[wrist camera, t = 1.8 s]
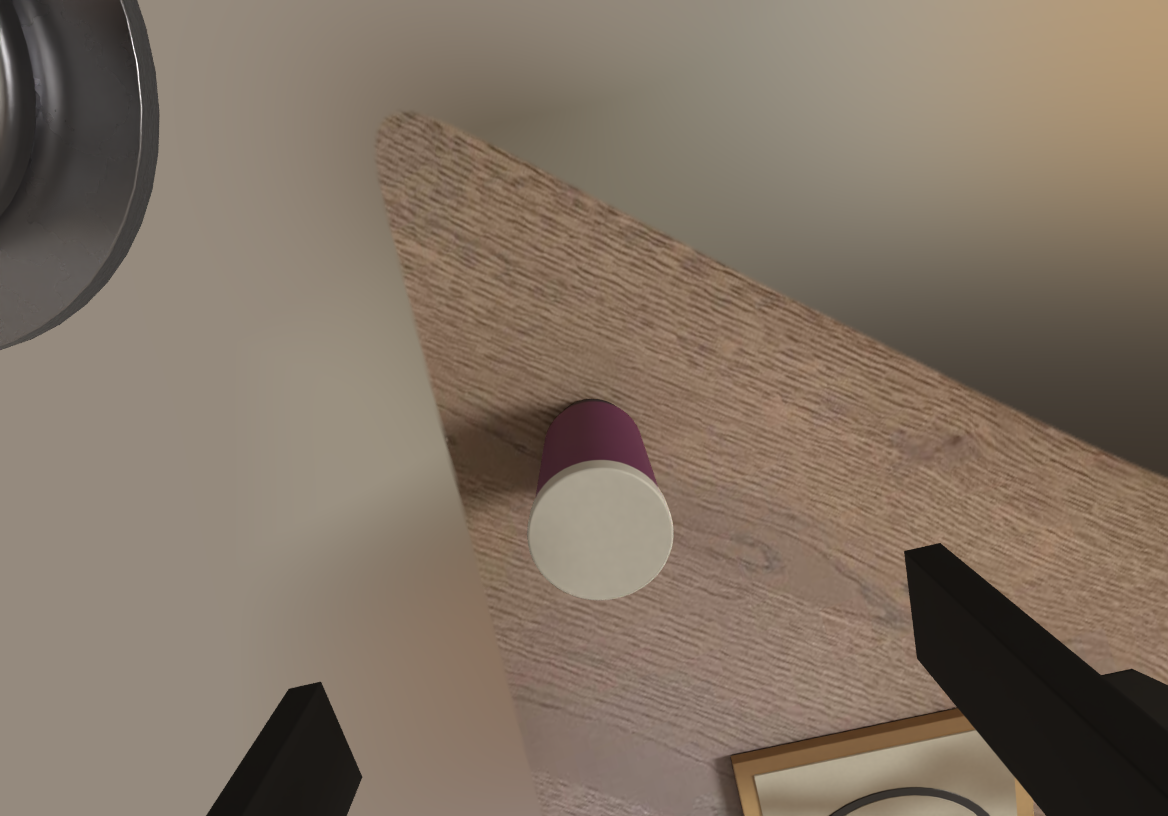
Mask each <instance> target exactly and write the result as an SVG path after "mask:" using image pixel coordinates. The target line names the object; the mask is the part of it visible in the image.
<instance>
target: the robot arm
mask: <svg viewBox="0 0 1168 816" xmlns="http://www.w3.org/2000/svg"><path fill="white" fill-rule="evenodd" d="M35 114H36V107H35V87H34V79H33V72H32V66H31V61H30V56H29V52H28V47H27V43H26V40H25V37H24V34H23V30H22V27H21V24H20V21H19V18H18V16H17V13H16V11H15V8H14V6H13V3H12V1H11V0H0V216H1V215H2V214H3V212H4V211H5V210H6V208H7V207H8V205H9V204H10V203H11V201H12V199H13V197H14V195H15V194H16V192H17V190H18V188H19V186H20V184H21V181H22V179H23V176H24V174H25V171H26V169H27V165H28V161H29V158H30V154H31V150H32V144H33V138H34V131H35ZM904 554H905V562H906V571H907V579H908V587H909V596H910V604H911V612H912V620H913V629H914V637H915V645H916V654H917V659H918V660H919V661H920V663H921V664H922V665H923V666H924V667H925V669H926V670H927V671H928V672H929V674H930V675H931V676H932V677H933V678H934V680H935V681H936V682H937V683H938V684H939V686H940V687H941V688H942V689H943V691H944V692H945V693H946V694H947V695H948V697H949V698H950V699H951V700H952V702H953V703H954V704H955V705H956V706H957V708H958V709H959V710H960V711H961V712H962V714H963V715H964V716H965V717H966V719H967V720H968V721H969V722H970V723H971V725H972V726H973V727H974V728H975V730H976V731H977V732H978V733H979V734H980V736H981V737H982V738H983V739H984V740H985V742H986V743H987V744H988V745H989V747H990V748H991V749H992V750H993V751H994V753H995V754H996V755H997V756H998V758H999V759H1000V760H1001V761H1002V762H1003V764H1004V765H1005V766H1006V767H1007V768H1008V770H1009V771H1010V772H1011V773H1012V775H1013V776H1014V777H1015V778H1016V779H1017V781H1018V782H1019V783H1020V784H1021V786H1022V787H1023V788H1024V789H1025V790H1026V792H1027V793H1028V794H1029V795H1030V796H1031V798H1032V799H1033V800H1034V801H1035V803H1036V804H1037V805H1038V806H1039V807H1040V809H1041V810H1042V811H1043V812H1044V814H1045V815H1046V816H1168V685H1166V684H1164V683H1162V682H1160V681H1157V680H1155V679H1153V678H1151V677H1149V676H1147V675H1144V674H1142V673H1140V672H1138V671H1136V670H1134V669H1129V670H1124V671H1119V672H1115V673H1110V674H1105V675H1100V674H1099V673H1098V672H1096V671H1095V670H1094V669H1093V668H1092V667H1090V666H1089V665H1088V664H1087V663H1086V662H1084V661H1083V660H1082V659H1081V658H1079V657H1078V656H1077V655H1076V654H1075V653H1073V652H1072V651H1071V650H1070V649H1068V648H1067V647H1066V646H1065V645H1064V644H1062V643H1061V642H1060V641H1059V640H1058V639H1056V638H1055V637H1054V636H1053V635H1051V634H1050V633H1049V632H1048V631H1047V630H1045V629H1044V628H1043V627H1042V626H1040V625H1039V624H1038V623H1037V622H1036V621H1034V620H1033V619H1032V618H1031V617H1030V616H1028V615H1027V614H1026V613H1025V612H1023V611H1022V610H1021V609H1020V608H1019V607H1017V606H1016V605H1015V604H1014V603H1012V602H1011V601H1010V600H1009V599H1008V598H1006V597H1005V596H1004V595H1003V594H1002V593H1000V592H999V591H998V590H997V589H995V588H994V587H993V586H992V585H991V584H989V583H988V582H987V581H986V580H984V579H983V578H982V577H981V576H980V575H978V574H977V573H976V572H975V571H974V570H972V569H971V568H970V567H969V566H967V565H966V564H965V563H964V562H963V561H961V560H960V559H959V558H958V557H956V556H955V555H954V554H953V553H952V552H950V551H949V550H948V549H947V548H946V547H944V546H943V545H942V544H941V543H938V544H934V545H929V546H925V547H920V548H916V549H912V550H907V551H904ZM361 779H362V775H361V773H360V771H359V768H358V766H357V764H356V761H355V759H354V757H353V754H352V752H351V750H350V748H349V745H348V743H347V741H346V738H345V736H344V734H343V731H342V729H341V727H340V724H339V722H338V720H337V718H336V715H335V713H334V711H333V708H332V706H331V704H330V701H329V699H328V697H327V695H326V692H325V690H324V688H323V685H322V683H321V682H317V683H313V684H308V685H304V686H299V687H295V688H291V689H288V691H287V692H286V694H285V696H284V697H283V699H282V700H281V702H280V703H279V705H278V706H277V708H276V709H275V711H274V712H273V714H272V715H271V717H270V719H269V720H268V722H267V723H266V725H265V726H264V728H263V729H262V731H261V732H260V734H259V736H258V737H257V739H256V740H255V742H254V743H253V745H252V746H251V748H250V749H249V751H248V752H247V754H246V755H245V757H244V758H243V760H242V761H241V763H240V765H239V766H238V768H237V769H236V771H235V772H234V774H233V775H232V777H231V778H230V780H229V781H228V783H227V785H226V786H225V788H224V789H223V791H222V792H221V794H220V795H219V797H218V799H217V800H216V802H215V803H214V804H213V806H212V808H211V809H210V811H209V812H208V814H207V815H206V816H347V814H348V811H349V809H350V806H351V804H352V801H353V799H354V796H355V794H356V791H357V789H358V786H359V784H360V781H361Z"/></svg>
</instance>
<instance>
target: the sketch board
mask: <svg viewBox="0 0 1168 816" xmlns="http://www.w3.org/2000/svg"><path fill="white" fill-rule="evenodd" d="M731 762H732V766H733V771H734V775H735V779H736V784H737V788H738V793H739V797H740V801H741V806H742V810H743V815H744V816H1034V810H1033V799H1032V798H1031V796H1030V795H1029V794H1028V793H1027V792H1026V790H1025V789H1024V788H1023V787H1022V786H1021V784H1020V783H1019V782H1018V781H1017V779H1016V778H1015V777H1014V776H1013V775H1012V773H1011V772H1010V771H1009V770H1008V768H1007V767H1006V766H1005V765H1004V764H1003V762H1002V761H1001V760H1000V759H999V758H998V756H997V755H996V754H995V753H994V751H993V750H992V749H991V748H990V747H989V745H988V744H987V743H986V742H985V740H984V739H983V738H982V737H981V736H980V734H979V733H978V732H977V731H976V730H975V728H974V727H973V726H972V725H971V723H970V722H969V721H968V720H967V719H966V717H965V716H964V715H963V714H962V712H961V711H960V710H959V709H958V708H957V709H952V710H947V711H943V712H938V713H933V714H928V715H923V716H919V717H914V718H909V719H904V720H900V721H895V722H890V723H885V724H880V725H876V726H871V727H866V728H861V729H857V730H852V731H847V732H842V733H838V734H833V735H828V736H823V737H818V738H814V739H809V740H804V741H799V742H795V743H790V744H785V745H780V746H775V747H771V748H766V749H761V750H756V751H752V752H747V753H742V754H737V755H733V756H731Z"/></svg>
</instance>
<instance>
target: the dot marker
mask: <svg viewBox="0 0 1168 816" xmlns="http://www.w3.org/2000/svg"><path fill="white" fill-rule="evenodd" d="M527 539H528V546H529V551H530V554H531V556H532V559H533V561H534V563H535V565H536V567H537V568H538V570H539V571H540V572H541V574H542V575H543V576H544V577H545V578H546V579H547V580H548V581H549V582H550V583H551V584H553V585H554V586H555V587H557V588H558V589H560V590H562V591H563V592H565V593H567V594H570V595H572V596H575V597H578V598H582V599H588V600H611V599H617V598H620V597H624V596H627V595H629V594H632V593H634V592H636V591H638V590H639V589H641V588H643V587H644V586H645V585H647V584H648V583H649V582H650V581H652V580H653V579H654V578H655V577H656V576H657V574H658V573H659V572H660V571H661V569H662V568H663V566H664V564H665V563H666V561H667V559H668V557H669V554H670V551H671V548H672V543H673V522H672V517H671V514H670V511H669V508H668V505H667V502H666V500H665V498H664V496H663V494H662V493H661V491H660V489H659V488H658V485H657V482H656V479H655V476H654V473H653V470H652V467H651V464H650V461H649V458H648V455H647V452H646V450H645V447H644V444H643V441H642V438H641V435H640V432H639V429H638V427H637V425H636V424H635V422H634V421H633V420H632V418H631V417H630V416H629V415H628V414H627V413H625V412H624V411H623V410H621V409H620V408H618V407H616V406H615V405H613V404H611V403H609V402H607V401H604V400H599V399H586V400H582V401H578V402H576V403H574V404H572V405H570V406H569V407H567V408H566V409H565V410H564V411H563V412H562V413H561V414H559V415H558V416H557V417H556V418H555V420H554V421H553V422H552V424H551V425H550V427H549V429H548V431H547V434H546V437H545V442H544V448H543V454H542V461H541V467H540V473H539V479H538V485H537V492H536V498H535V500H534V502H533V505H532V508H531V511H530V516H529V522H528V530H527Z"/></svg>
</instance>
